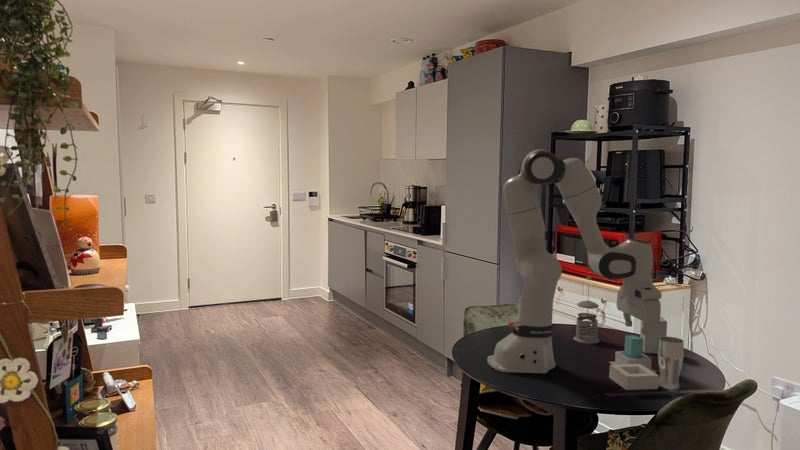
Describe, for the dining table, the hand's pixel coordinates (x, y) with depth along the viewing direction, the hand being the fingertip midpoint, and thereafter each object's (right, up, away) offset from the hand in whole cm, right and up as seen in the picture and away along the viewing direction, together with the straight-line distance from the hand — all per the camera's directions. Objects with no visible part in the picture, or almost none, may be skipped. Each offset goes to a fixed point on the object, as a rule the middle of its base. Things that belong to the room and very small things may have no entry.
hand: (636, 330), depth 183 cm
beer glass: (+3, -15, -15) cm, 21 cm away
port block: (-7, -14, -14) cm, 21 cm away
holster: (-1, -13, +1) cm, 13 cm away
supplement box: (+14, -12, +19) cm, 27 cm away
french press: (-4, -10, +34) cm, 36 cm away
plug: (-1, -12, +1) cm, 12 cm away
